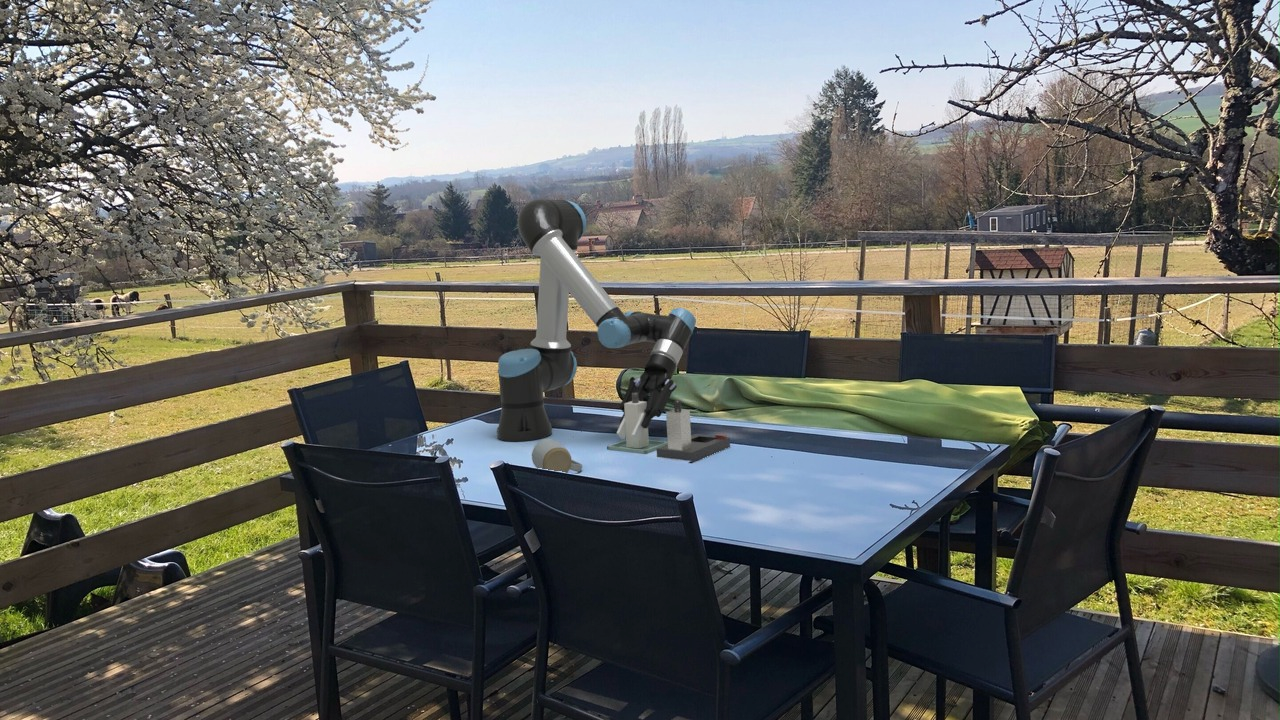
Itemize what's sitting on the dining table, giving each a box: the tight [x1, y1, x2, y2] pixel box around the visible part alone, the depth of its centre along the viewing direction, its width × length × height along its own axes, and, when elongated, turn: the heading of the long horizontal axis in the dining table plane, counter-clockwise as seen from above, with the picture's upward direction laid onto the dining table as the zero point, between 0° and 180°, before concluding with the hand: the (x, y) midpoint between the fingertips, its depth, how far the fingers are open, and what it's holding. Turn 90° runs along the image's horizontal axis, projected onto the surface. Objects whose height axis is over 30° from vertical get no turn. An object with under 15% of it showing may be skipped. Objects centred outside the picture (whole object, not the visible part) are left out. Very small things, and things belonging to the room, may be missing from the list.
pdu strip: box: [656, 399, 731, 464], centre depth 215 cm, size 10×17×14 cm, turn 144°
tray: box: [606, 439, 668, 455], centre depth 222 cm, size 12×10×1 cm
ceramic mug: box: [531, 438, 583, 473], centre depth 203 cm, size 11×8×8 cm
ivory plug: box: [624, 392, 650, 448], centre depth 222 cm, size 4×4×13 cm
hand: (627, 436), depth 219 cm, fingers closed on ivory plug, 4 cm apart
